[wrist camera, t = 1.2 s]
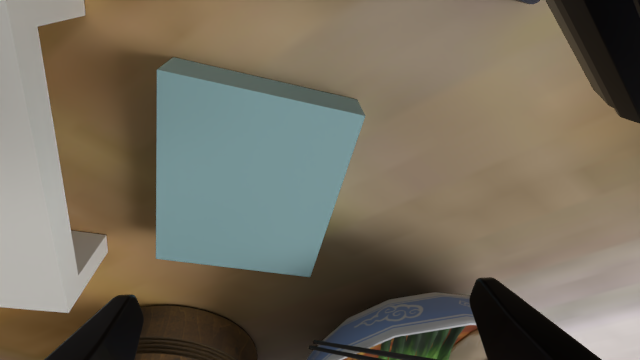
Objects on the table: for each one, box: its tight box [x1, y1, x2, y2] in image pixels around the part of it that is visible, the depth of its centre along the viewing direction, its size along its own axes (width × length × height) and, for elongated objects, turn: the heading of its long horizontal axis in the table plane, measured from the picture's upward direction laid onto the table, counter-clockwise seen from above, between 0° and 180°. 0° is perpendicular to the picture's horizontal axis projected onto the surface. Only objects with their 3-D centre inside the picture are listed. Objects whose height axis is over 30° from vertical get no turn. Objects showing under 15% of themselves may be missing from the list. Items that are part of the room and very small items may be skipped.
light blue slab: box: [156, 57, 365, 277], centre depth 20 cm, size 10×12×2 cm
